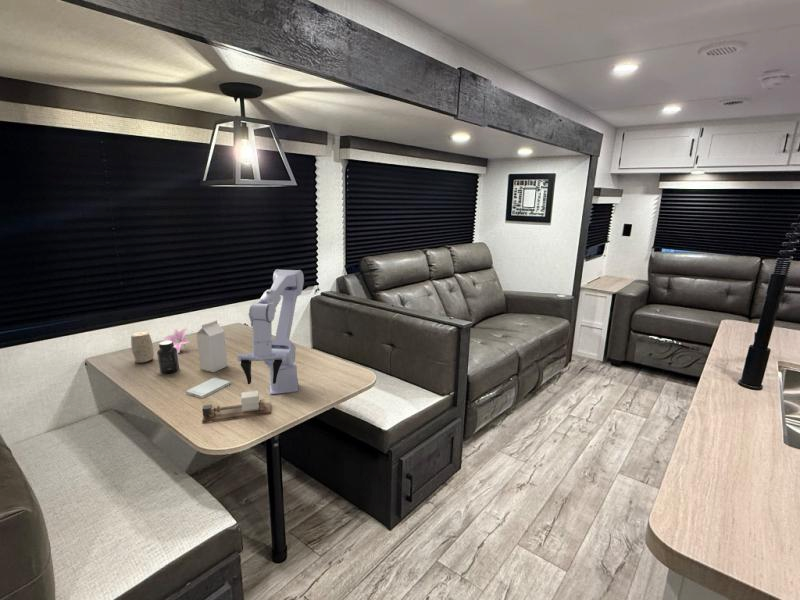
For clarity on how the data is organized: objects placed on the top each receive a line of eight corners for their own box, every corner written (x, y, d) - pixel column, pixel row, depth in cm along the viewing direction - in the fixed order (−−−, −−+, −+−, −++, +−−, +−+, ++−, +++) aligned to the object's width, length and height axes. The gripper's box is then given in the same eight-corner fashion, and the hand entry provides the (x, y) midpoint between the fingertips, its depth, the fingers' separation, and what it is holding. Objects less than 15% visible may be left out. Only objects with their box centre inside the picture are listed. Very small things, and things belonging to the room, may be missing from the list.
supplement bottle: (160, 369, 164) (156, 340, 161) (179, 366, 167) (176, 338, 164) (159, 376, 158) (155, 346, 155) (179, 373, 161) (176, 343, 158)
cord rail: (270, 404, 138) (269, 394, 138) (270, 413, 133) (270, 403, 132) (204, 413, 132) (203, 402, 132) (202, 422, 127) (201, 412, 126)
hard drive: (213, 377, 156) (184, 390, 145) (230, 381, 152) (201, 395, 141) (214, 381, 156) (185, 394, 145) (230, 385, 153) (202, 400, 142)
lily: (164, 349, 187) (155, 335, 181) (189, 334, 193) (181, 320, 186) (176, 364, 181) (167, 350, 174) (201, 348, 187) (193, 334, 180)
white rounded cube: (259, 404, 136) (258, 390, 135) (259, 410, 133) (257, 396, 131) (242, 406, 135) (241, 392, 133) (242, 412, 131) (241, 398, 130)
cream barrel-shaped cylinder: (132, 360, 172) (128, 333, 169) (153, 356, 176) (149, 329, 173) (135, 365, 167) (130, 337, 164) (156, 361, 172) (152, 333, 169)
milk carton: (227, 366, 168) (223, 321, 163) (213, 372, 162) (208, 326, 157) (214, 363, 171) (210, 318, 166) (200, 369, 165) (195, 323, 160)
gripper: (235, 343, 126) (235, 387, 127) (284, 343, 128) (284, 386, 130) (240, 339, 133) (240, 380, 134) (286, 339, 135) (286, 379, 137)
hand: (262, 383), depth 132 cm, fingers open, 7 cm apart
